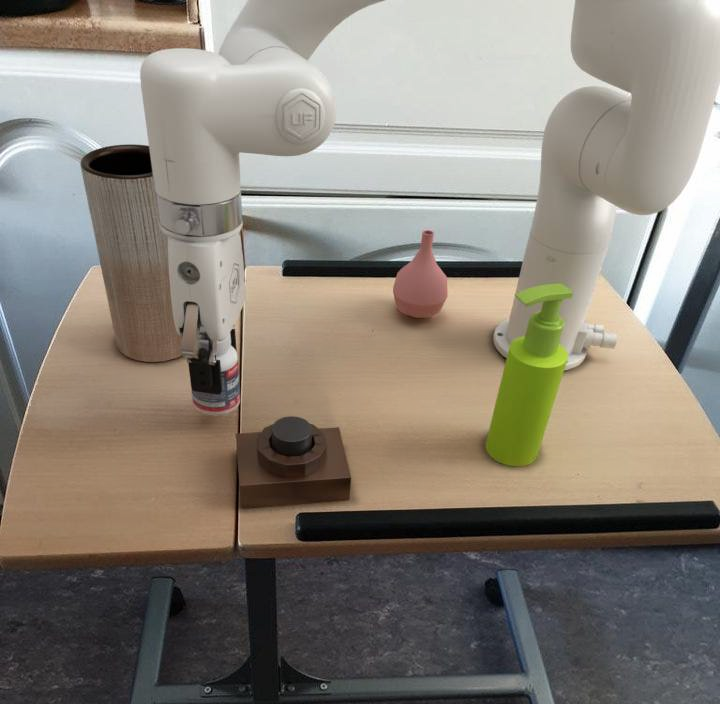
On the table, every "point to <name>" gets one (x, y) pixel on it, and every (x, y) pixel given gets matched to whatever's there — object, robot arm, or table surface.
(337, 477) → the brown button base
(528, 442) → the soap dispenser
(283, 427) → the dark grey push button
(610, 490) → the table surface
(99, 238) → the planter
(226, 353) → the pill bottle
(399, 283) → the pink vase
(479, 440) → the table surface
